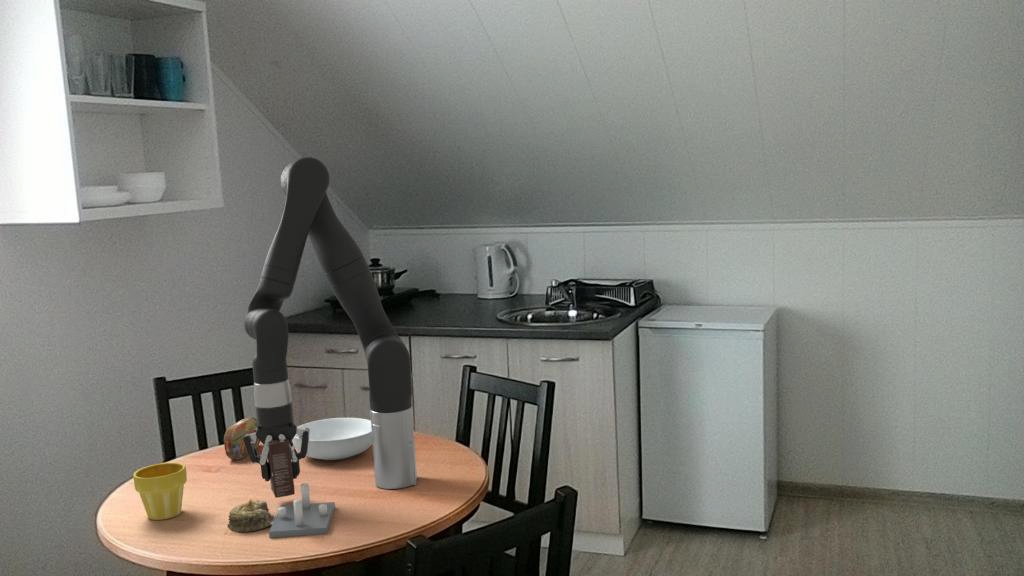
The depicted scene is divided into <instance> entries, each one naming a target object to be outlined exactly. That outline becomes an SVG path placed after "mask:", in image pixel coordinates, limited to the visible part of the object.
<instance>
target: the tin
mask: <svg viewBox="0 0 1024 576" xmlns="http://www.w3.org/2000/svg"><path fill="white" fill-rule="evenodd" d="M257 428H258V427H257V418H255V417H248V418H247V417H245V418H243V419H242V418H241V420H239V421H237V422H236V423H234V424H233V425H231V426H229V427H228V428H227V429H226V430H225V432H224V435H223V445H224V451H225V455H226V456H227V458H229V459H231V460H243V459H244V458H245V457H247V456H249V454H248V452H247V449H246V446H245V443H244V440H243V439H244V437H245V435H246V434H247V433H250V434H252V433H255V432H256V431H257ZM260 443H261V441H260V440H259V439H258V438H257V437H256V442H255V443H254V445H255V447H256V450H257V449H258V447H259V445H260ZM242 458H243V459H242Z"/></svg>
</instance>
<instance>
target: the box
mask: <svg viewBox="0 0 1024 576" xmlns="http://www.w3.org/2000/svg"><path fill="white" fill-rule="evenodd" d="M268 447H269V453H268V459H267V462H269V469H270V480H269V482H270V490H271V491H272V493H273V496H274V498H276V499H277V498H283V497H284V498H285V497H289V496H293V495H295V494H296V493H295V484H294V481H295V480H294V479H293V471H292V460H291V452H290V444H289V440H288V439H287V440H282V441H280V439H279V440H272V441H271V442H268Z"/></svg>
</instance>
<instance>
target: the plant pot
mask: <svg viewBox="0 0 1024 576" xmlns="http://www.w3.org/2000/svg"><path fill="white" fill-rule="evenodd" d="M132 478H133V484H134V485H133V486H134V490H135V491H136V492H137V493H138V494H139V497H140V499H141V502H142V504H143V507H144V510H145V513H146V516H147V518H148V519H150V520H153V521H162V520H168V519H169V520H170V519H171V518H174V517H177V516H179V515H180V514H181V513H182V509H183V507H182V506H183V499H184V498H183V496H184V487H185V484H186V483H187V481H188V479H187V468H186V465H185V464H183V463H181V462H172V461H171V462H162V463H156V464H152V465H151V464H150V465H148V466H144V467H141V468H139V469H137V470H136V471H134V473H133V477H132Z"/></svg>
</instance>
